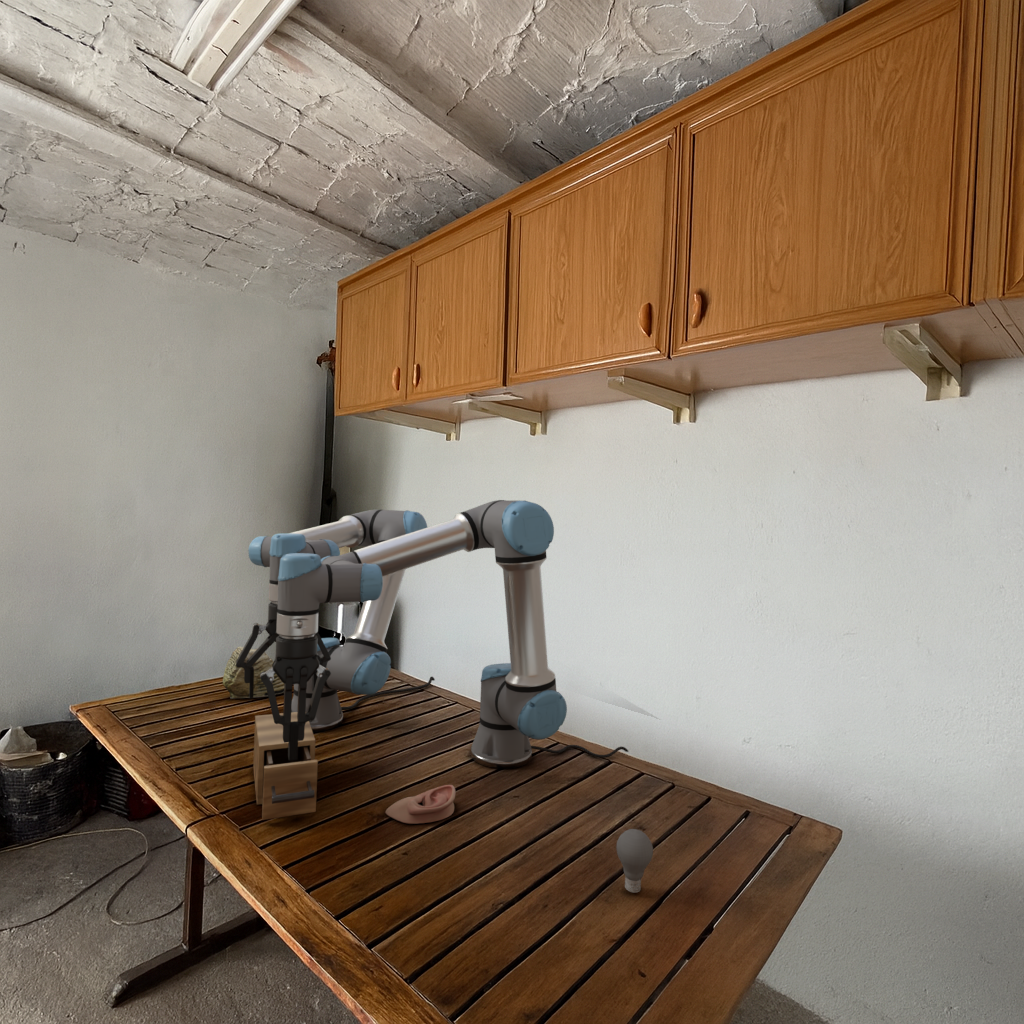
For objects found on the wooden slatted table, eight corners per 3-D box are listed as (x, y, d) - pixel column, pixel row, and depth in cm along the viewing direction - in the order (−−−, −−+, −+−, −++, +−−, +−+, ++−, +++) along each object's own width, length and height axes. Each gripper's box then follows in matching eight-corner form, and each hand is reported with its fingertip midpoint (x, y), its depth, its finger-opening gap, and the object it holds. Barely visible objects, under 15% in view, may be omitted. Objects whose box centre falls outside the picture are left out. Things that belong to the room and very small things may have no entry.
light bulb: (610, 879, 108) (613, 822, 108) (644, 879, 109) (647, 822, 109) (619, 902, 102) (622, 840, 102) (655, 901, 103) (658, 840, 103)
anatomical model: (379, 799, 125) (401, 775, 136) (379, 819, 125) (400, 793, 136) (444, 809, 122) (460, 783, 134) (443, 829, 122) (460, 802, 134)
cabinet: (313, 796, 134) (315, 739, 134) (256, 804, 129) (258, 746, 129) (303, 761, 151) (305, 711, 151) (253, 767, 146) (255, 715, 146)
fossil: (218, 695, 195) (220, 647, 195) (278, 685, 208) (279, 640, 207) (228, 703, 189) (230, 653, 188) (289, 692, 201) (290, 645, 201)
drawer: (319, 826, 120) (321, 773, 120) (263, 835, 116) (266, 781, 116) (305, 775, 141) (307, 730, 141) (258, 781, 137) (259, 735, 137)
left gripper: (226, 606, 135) (223, 704, 136) (344, 602, 146) (341, 694, 146) (226, 600, 142) (223, 694, 143) (339, 597, 152) (336, 684, 153)
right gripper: (261, 640, 114) (256, 770, 115) (335, 637, 120) (330, 761, 120) (259, 632, 121) (255, 754, 122) (329, 629, 127) (325, 746, 127)
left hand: (283, 694), depth 145 cm, fingers open, 13 cm apart
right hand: (292, 757), depth 121 cm, fingers closed
